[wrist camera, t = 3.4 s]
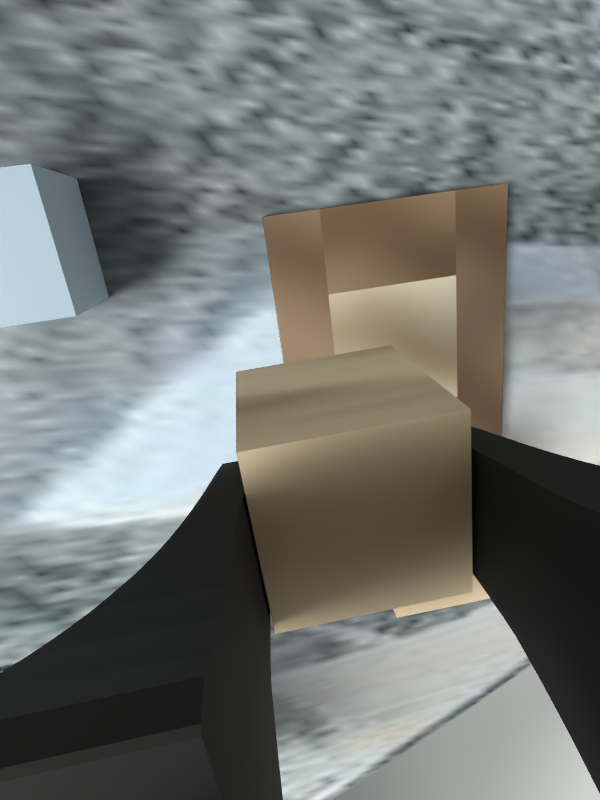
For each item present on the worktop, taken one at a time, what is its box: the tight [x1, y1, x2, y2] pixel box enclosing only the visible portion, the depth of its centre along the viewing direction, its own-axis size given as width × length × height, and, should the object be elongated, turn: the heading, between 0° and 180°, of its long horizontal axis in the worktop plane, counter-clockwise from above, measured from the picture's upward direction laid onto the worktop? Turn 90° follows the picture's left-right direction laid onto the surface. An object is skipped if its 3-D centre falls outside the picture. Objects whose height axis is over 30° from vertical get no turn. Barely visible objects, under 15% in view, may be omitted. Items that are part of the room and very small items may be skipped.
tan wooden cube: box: [236, 345, 473, 634], centre depth 11 cm, size 4×4×4 cm
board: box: [262, 183, 508, 436], centre depth 20 cm, size 18×9×1 cm, turn 7°
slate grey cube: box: [0, 164, 109, 327], centre depth 15 cm, size 4×4×4 cm
